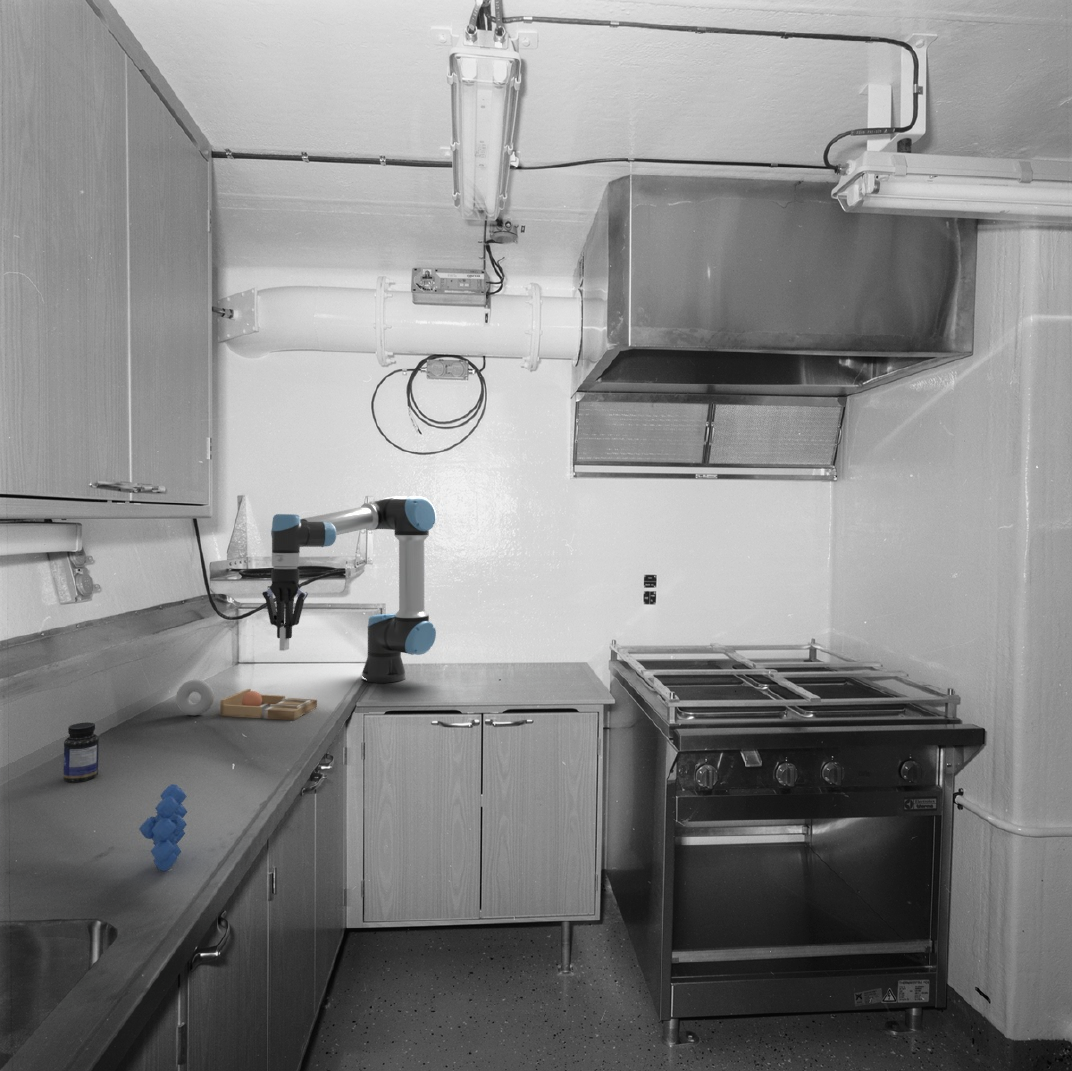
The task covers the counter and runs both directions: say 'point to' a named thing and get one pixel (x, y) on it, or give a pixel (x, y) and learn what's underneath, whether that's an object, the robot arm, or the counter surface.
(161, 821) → the grapes
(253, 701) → the ball
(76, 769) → the pill bottle
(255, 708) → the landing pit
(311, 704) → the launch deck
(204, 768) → the counter surface
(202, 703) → the donut
